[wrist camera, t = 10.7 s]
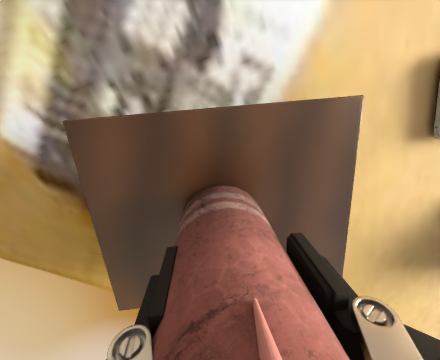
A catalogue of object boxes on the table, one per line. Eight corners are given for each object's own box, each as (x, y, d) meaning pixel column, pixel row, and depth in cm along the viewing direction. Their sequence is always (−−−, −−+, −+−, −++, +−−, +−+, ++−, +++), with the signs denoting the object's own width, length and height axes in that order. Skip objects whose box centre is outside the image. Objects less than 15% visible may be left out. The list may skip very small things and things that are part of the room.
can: (256, 173, 15) (606, 573, 2) (262, 247, 17) (458, 699, 4) (174, 185, 15) (-52, 712, 2) (189, 258, 17) (134, 770, 4)
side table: (313, 101, 21) (364, 95, 14) (306, 239, 26) (341, 283, 19) (109, 118, 20) (61, 120, 13) (141, 258, 25) (118, 311, 18)
